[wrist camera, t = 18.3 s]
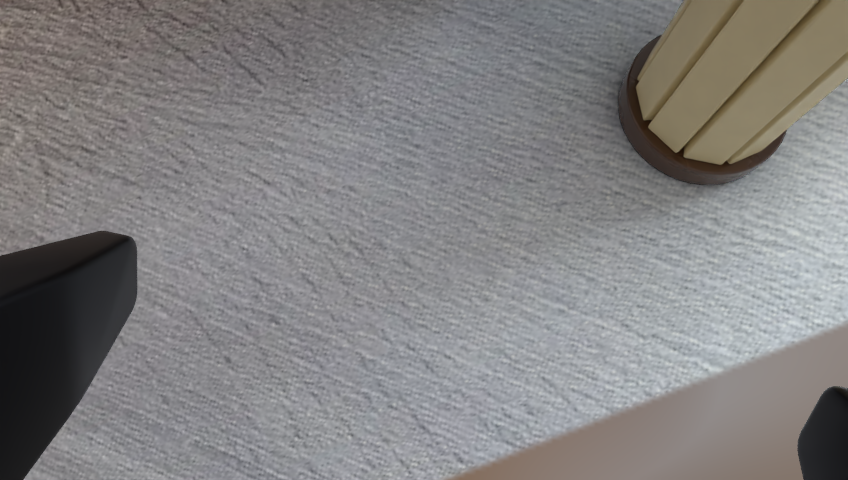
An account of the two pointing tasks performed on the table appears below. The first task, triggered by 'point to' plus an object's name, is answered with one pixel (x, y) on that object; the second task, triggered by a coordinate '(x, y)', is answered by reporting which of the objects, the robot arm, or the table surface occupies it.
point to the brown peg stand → (661, 153)
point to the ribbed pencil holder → (741, 73)
